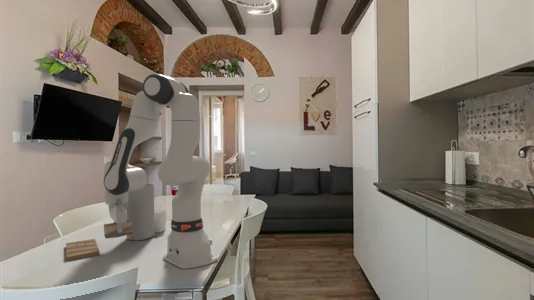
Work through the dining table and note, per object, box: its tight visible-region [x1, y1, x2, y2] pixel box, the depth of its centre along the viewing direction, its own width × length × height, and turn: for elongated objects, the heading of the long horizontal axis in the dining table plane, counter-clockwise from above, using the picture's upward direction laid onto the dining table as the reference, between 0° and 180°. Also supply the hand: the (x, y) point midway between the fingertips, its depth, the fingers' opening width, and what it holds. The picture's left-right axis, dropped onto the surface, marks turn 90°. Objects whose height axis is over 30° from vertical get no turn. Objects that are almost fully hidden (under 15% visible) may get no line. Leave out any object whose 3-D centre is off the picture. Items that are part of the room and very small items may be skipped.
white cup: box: [154, 209, 167, 233], centre depth 157 cm, size 8×8×10 cm
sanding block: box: [103, 220, 132, 240], centre depth 129 cm, size 5×10×5 cm, turn 124°
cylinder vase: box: [125, 183, 156, 241], centre depth 146 cm, size 12×12×25 cm
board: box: [65, 238, 100, 262], centre depth 127 cm, size 21×11×2 cm, turn 34°
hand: (118, 231), depth 129 cm, fingers closed on sanding block, 5 cm apart
